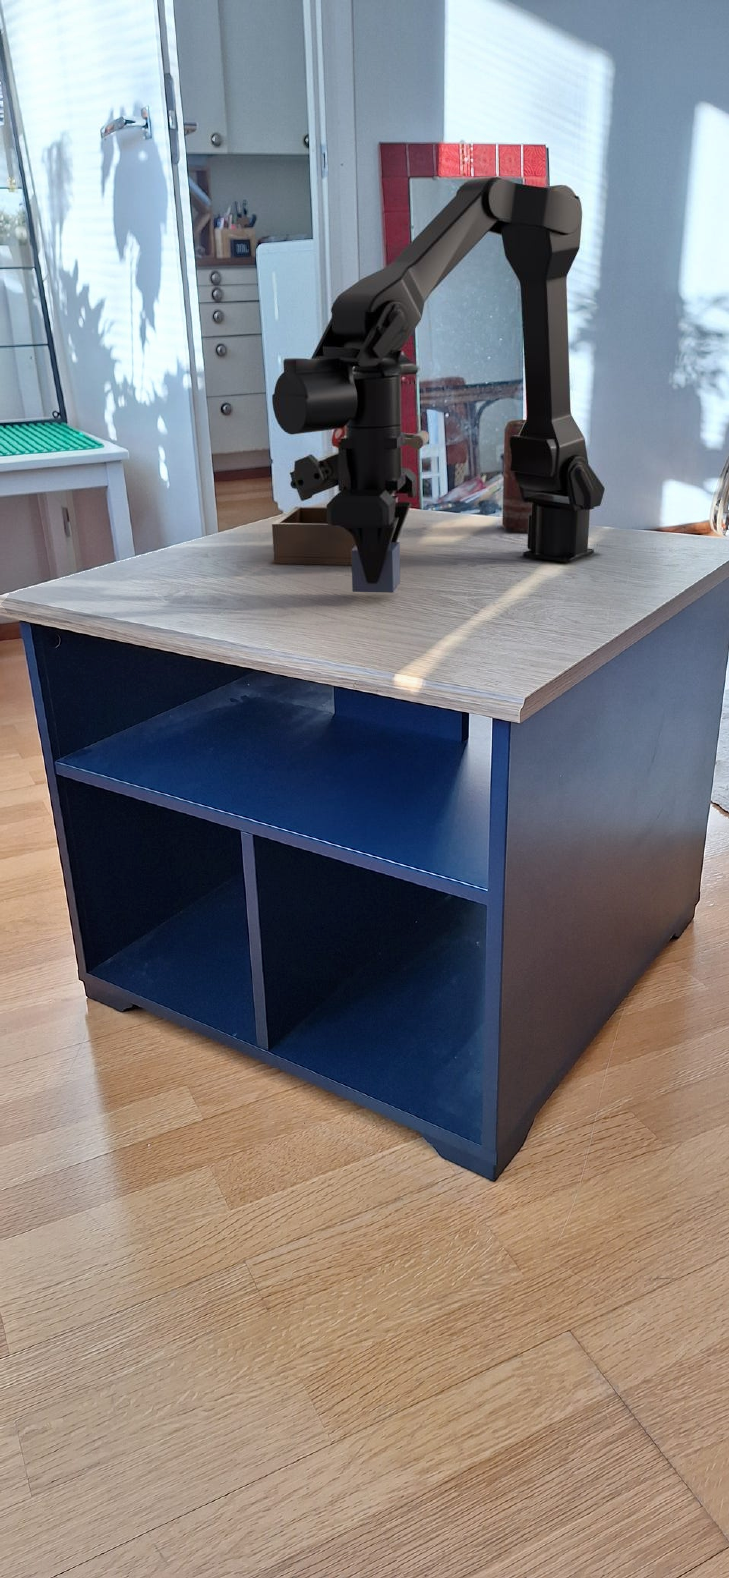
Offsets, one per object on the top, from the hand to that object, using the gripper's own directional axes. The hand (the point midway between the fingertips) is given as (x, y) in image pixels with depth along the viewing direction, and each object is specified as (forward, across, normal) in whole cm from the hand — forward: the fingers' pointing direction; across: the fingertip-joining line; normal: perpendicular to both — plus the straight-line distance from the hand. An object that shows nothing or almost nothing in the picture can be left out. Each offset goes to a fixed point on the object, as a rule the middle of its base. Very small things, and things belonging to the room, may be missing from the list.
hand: (376, 577), depth 119 cm
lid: (-10, -21, -3) cm, 23 cm away
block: (+1, 0, 0) cm, 1 cm away
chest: (+2, -21, -9) cm, 23 cm away
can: (+2, -38, +14) cm, 41 cm away
